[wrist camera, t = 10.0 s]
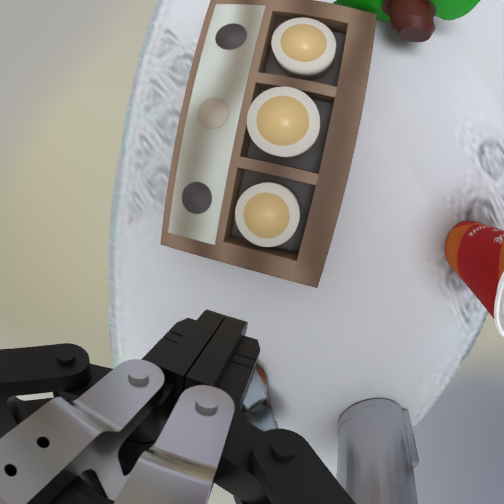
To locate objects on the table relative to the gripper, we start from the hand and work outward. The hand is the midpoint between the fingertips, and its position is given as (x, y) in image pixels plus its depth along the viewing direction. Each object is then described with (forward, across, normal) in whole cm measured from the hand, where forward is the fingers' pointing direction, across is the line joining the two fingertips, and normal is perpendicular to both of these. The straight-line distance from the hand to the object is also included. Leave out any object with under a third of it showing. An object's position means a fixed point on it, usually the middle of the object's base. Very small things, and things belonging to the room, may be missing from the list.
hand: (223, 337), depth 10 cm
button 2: (+20, +2, -2) cm, 20 cm away
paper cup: (+21, -19, -4) cm, 28 cm away
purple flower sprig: (+20, -4, -38) cm, 43 cm away
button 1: (+19, +2, -18) cm, 26 cm away
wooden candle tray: (+20, +4, -10) cm, 23 cm away
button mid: (+17, +2, -10) cm, 20 cm away
